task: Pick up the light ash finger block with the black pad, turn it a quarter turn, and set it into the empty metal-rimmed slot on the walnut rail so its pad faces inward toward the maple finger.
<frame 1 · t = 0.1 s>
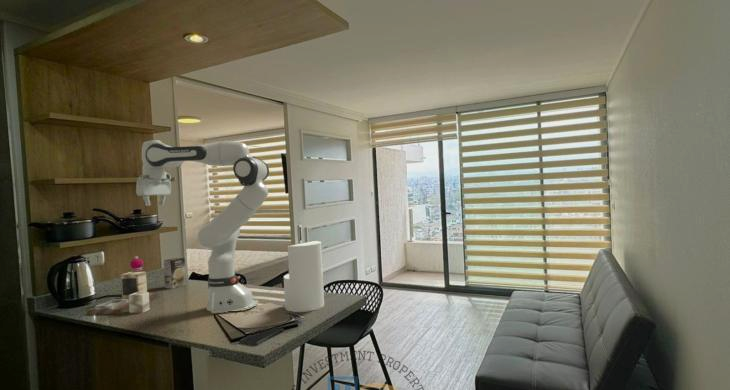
hand: (155, 205, 177), 48 cm above the counter, tool pointing down, fingers open, 8 cm apart
coffee box: (175, 287, 220), on the counter
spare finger: (139, 311, 174), on the counter
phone: (262, 338, 135), on the counter
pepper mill: (138, 292, 210), on the counter
cylinder: (304, 306, 170), on the counter
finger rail: (125, 304, 186), on the counter
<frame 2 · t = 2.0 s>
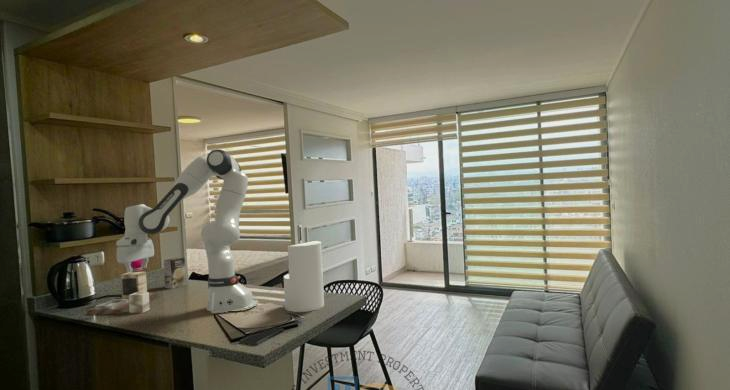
hand: (137, 269, 174), 19 cm above the counter, tool pointing down, fingers open, 8 cm apart
nothing on the counter moved.
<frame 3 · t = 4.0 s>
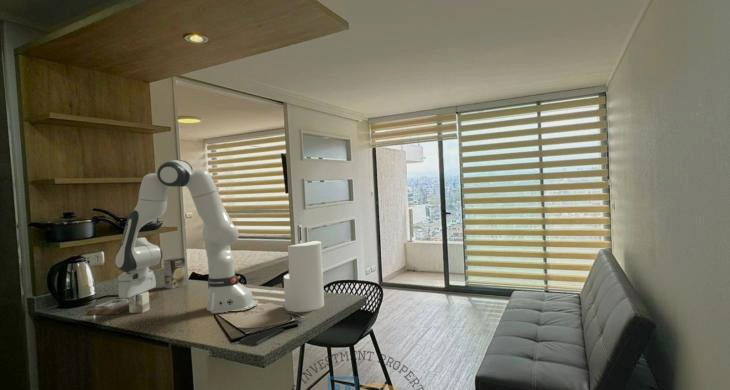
hand: (139, 303, 174), 4 cm above the counter, tool pointing down, fingers closed on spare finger, 4 cm apart
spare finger: (139, 311, 174), on the counter, touching gripper
everything else where it was.
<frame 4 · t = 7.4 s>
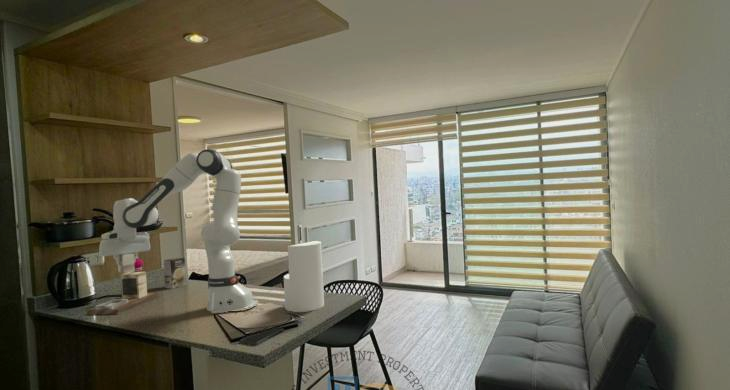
hand: (126, 263, 175), 22 cm above the counter, tool pointing down, fingers closed on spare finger, 4 cm apart
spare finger: (126, 271, 175), point 18 cm above the counter, touching gripper
everything else where it was.
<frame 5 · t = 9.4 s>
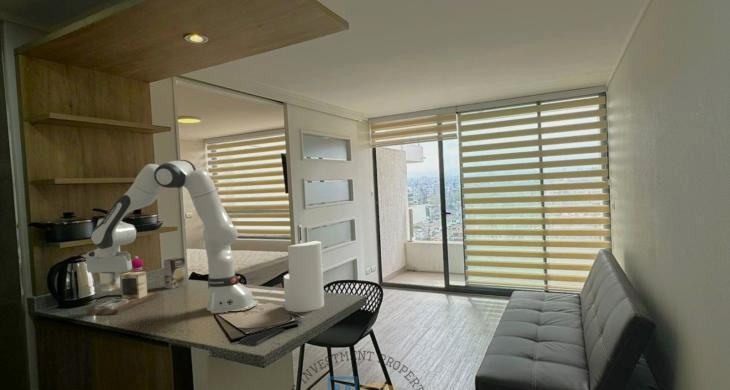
hand: (110, 281, 177), 13 cm above the counter, tool pointing down, fingers closed on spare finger, 4 cm apart
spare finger: (110, 289, 177), point 10 cm above the counter, touching gripper
everything else where it was.
when the fingers open (7 cm above the counter, at t = 11.1 s): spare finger stays where it is, resting on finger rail.
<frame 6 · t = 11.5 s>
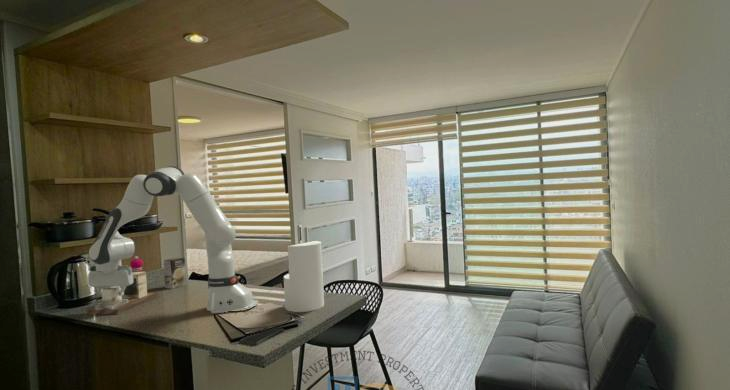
hand: (111, 295, 177), 7 cm above the counter, tool pointing down, fingers open, 8 cm apart
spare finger: (112, 305, 178), point 2 cm above the counter, touching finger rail
everything else where it was.
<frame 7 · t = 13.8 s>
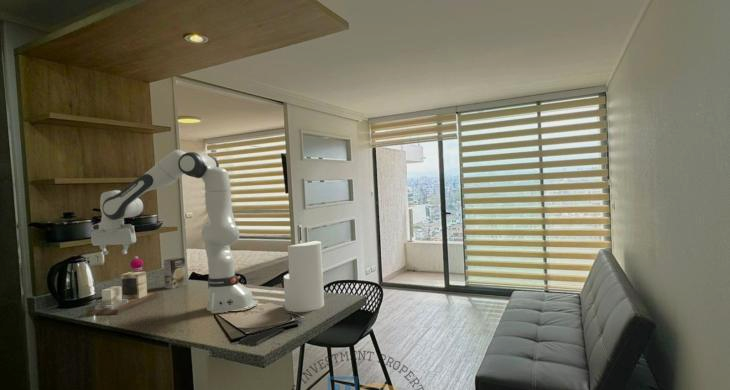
hand: (115, 254, 179), 26 cm above the counter, tool pointing down, fingers open, 8 cm apart
nothing on the counter moved.
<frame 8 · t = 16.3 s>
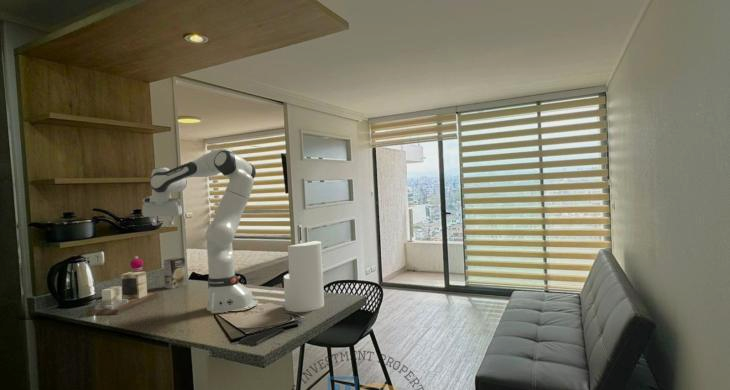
hand: (163, 225, 200), 37 cm above the counter, tool pointing down, fingers open, 8 cm apart
nothing on the counter moved.
at the end: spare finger 0.1 cm from the target spot on the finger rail, point 2.2 cm above the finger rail's base; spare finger tilted 0°; the gripper is holding nothing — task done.
